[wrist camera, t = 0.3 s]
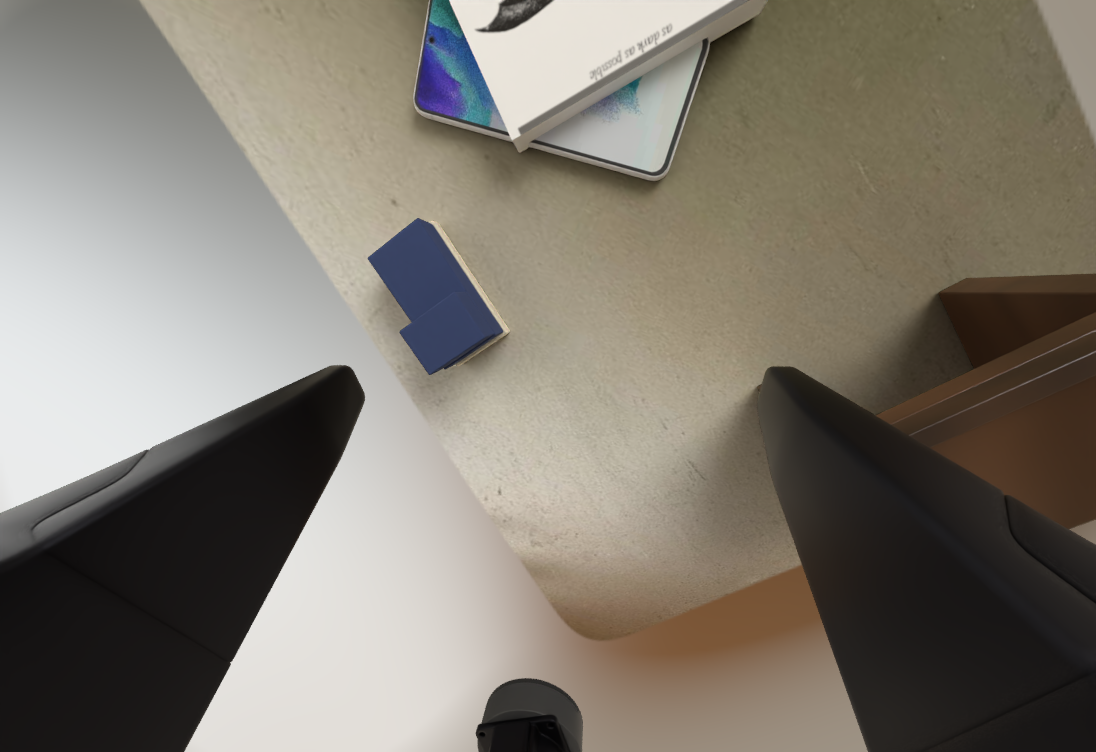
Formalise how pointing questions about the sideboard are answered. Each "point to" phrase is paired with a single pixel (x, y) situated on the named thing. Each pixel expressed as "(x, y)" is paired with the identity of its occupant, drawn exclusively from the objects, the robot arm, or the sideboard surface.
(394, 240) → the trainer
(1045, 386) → the shelf
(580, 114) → the smartphone
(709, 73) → the sideboard surface
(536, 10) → the book
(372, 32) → the sideboard surface
